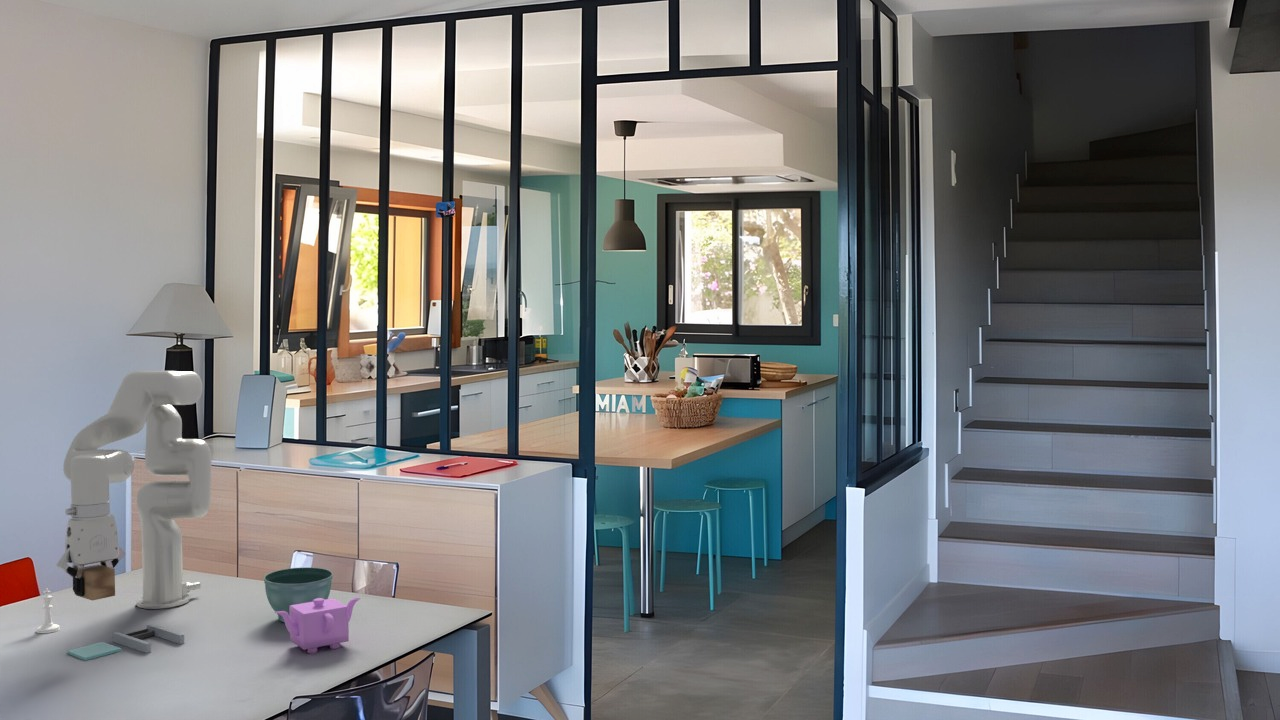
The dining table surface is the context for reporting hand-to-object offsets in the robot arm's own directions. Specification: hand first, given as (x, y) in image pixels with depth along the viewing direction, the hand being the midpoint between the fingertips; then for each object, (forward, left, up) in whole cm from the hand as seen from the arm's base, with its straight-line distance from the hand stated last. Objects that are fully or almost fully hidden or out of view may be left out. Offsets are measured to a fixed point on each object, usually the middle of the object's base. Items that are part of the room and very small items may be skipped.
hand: (92, 591), depth 239 cm
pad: (0, 0, -14) cm, 14 cm away
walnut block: (0, +1, -1) cm, 2 cm away
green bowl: (-43, +15, -14) cm, 48 cm away
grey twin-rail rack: (-11, +3, -14) cm, 18 cm away
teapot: (-32, +37, -14) cm, 51 cm away
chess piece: (-2, -25, -14) cm, 29 cm away
